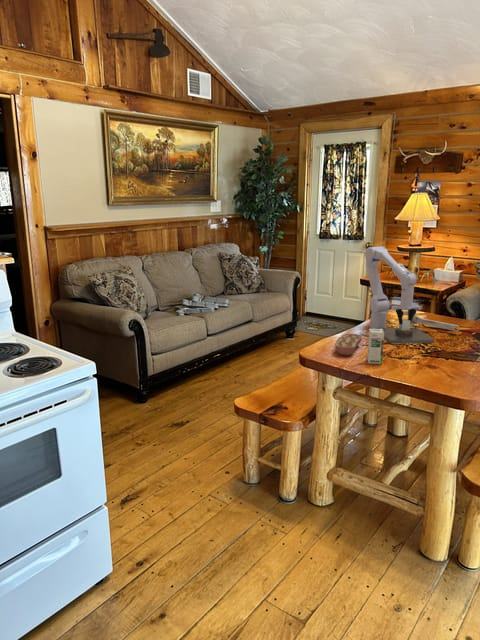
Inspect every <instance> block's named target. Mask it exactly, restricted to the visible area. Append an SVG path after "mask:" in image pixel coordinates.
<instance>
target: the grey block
mask: <svg viewBox="0 0 480 640" xmlns="http://www.w3.org/2000/svg"><path fill="white" fill-rule="evenodd" d="M410 327H411V325H410V320H409V319H408V317H407V318H402V324H399V323H398V328H399V329H400V330H401V331H410Z"/></svg>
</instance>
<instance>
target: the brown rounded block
mask: <svg viewBox="0 0 480 640" xmlns="http://www.w3.org/2000/svg"><path fill="white" fill-rule="evenodd" d="M362 340H363V336H362V335H360V334H357V333H345V334H342V335H341V336H339V338H337V339H336V341H335V344H334V347H335V350H336V352H337V353H338V354H339V355H342V356H349V355H351V354H353V353H354V352H355V349H356V347H357V346H359V345H360V344H361V342H362Z"/></svg>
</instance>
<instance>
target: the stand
mask: <svg viewBox="0 0 480 640" xmlns="http://www.w3.org/2000/svg"><path fill="white" fill-rule="evenodd" d="M376 329H383V331H384V341H386V342H388V343H389V344H423V343H424V344H431V343H432V344H433V343H435V339H434V338H432V337H431V336H430V335H428V334H427V333H426V332H424V331H422V330H421V329H419V328H418V327H415V326H410V331H401V330H400V329H399V327H386V328H376Z"/></svg>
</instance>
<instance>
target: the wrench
mask: <svg viewBox="0 0 480 640" xmlns="http://www.w3.org/2000/svg"><path fill="white" fill-rule="evenodd" d="M403 312H404V313H403V316H407V317H408V310H404V311H403ZM418 324H420V325H421V324H422V325H425V326H431V327H434V328H439V329H443V330H449V331H452V330H453V331H454V332H459V330H460V326H459V325H457V324H452V323H449V322H448V323H447V322H442V321H436V320H432V319H427V318H422V317H419V316H418V315H416V314H415V315H414V317H413V319H412V321H411V324H410V327H415V325H418ZM455 327H457V329H455Z"/></svg>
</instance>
